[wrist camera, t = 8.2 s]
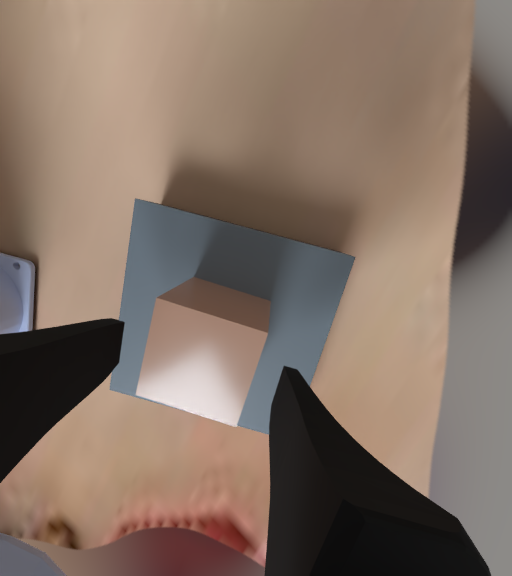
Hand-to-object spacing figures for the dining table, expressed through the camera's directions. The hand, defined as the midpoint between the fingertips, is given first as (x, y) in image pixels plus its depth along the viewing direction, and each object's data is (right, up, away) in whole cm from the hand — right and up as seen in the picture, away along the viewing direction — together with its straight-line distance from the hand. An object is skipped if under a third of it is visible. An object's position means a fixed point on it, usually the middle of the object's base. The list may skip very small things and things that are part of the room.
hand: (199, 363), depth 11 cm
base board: (+1, +2, +7) cm, 7 cm away
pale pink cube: (0, +1, +4) cm, 4 cm away
